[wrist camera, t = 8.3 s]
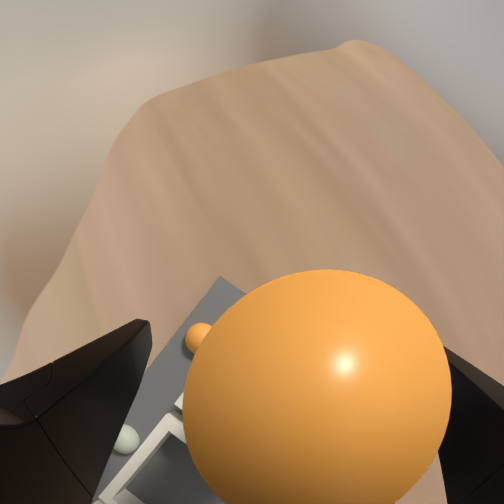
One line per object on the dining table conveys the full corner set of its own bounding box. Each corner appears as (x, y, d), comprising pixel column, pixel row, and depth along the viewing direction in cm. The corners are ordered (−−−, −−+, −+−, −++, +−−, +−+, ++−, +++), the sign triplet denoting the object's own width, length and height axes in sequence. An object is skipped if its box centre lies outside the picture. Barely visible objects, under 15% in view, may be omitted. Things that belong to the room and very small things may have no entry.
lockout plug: (303, 438, 14) (411, 531, 3) (218, 418, 15) (151, 496, 4) (324, 358, 16) (463, 300, 5) (242, 338, 16) (230, 240, 5)
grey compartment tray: (158, 598, 9) (148, 617, 6) (43, 512, 11) (21, 522, 9) (361, 373, 16) (380, 371, 14) (221, 280, 18) (216, 263, 16)
